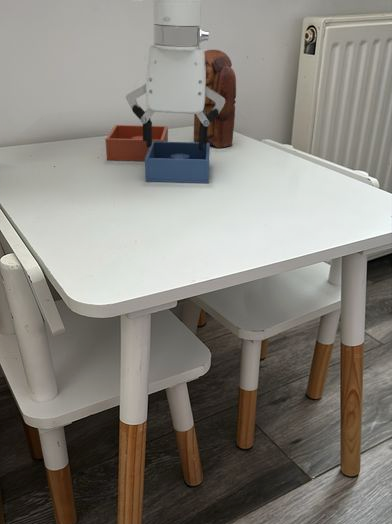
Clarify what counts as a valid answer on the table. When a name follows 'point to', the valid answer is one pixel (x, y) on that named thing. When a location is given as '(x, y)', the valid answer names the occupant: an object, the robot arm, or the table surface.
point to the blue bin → (177, 162)
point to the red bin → (131, 142)
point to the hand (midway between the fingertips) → (175, 146)
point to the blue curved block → (179, 156)
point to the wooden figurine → (223, 84)
